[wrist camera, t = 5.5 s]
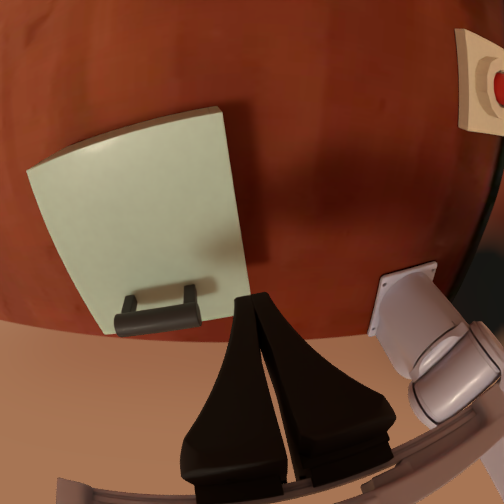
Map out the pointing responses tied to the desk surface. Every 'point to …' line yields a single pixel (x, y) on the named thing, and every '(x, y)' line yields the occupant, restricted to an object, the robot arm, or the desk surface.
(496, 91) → the power button
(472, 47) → the control block
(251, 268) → the desk surface
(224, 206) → the freezer lid
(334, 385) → the robot arm
